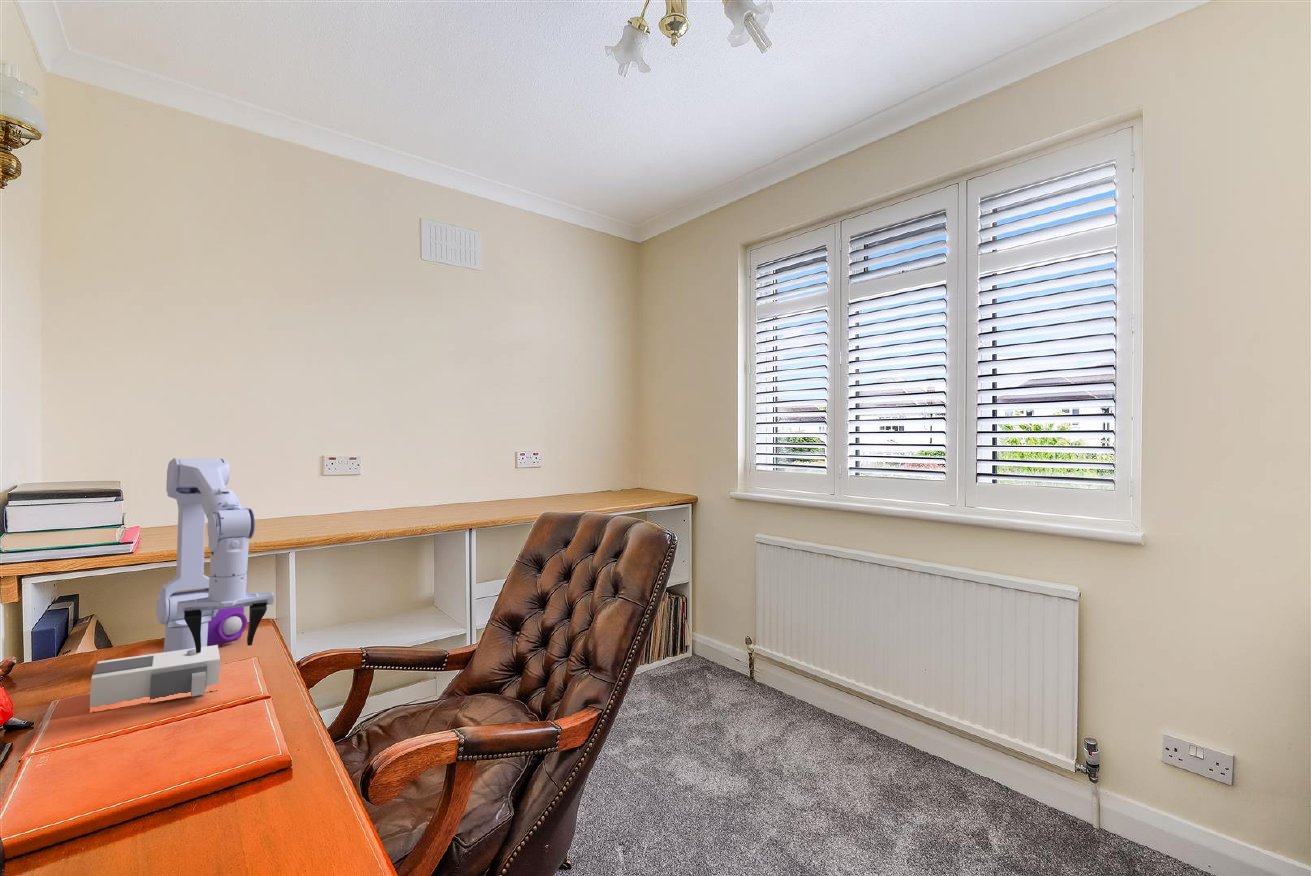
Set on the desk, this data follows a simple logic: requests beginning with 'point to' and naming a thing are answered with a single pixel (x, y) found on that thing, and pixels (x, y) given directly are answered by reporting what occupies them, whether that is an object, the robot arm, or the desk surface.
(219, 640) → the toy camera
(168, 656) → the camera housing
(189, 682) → the side door
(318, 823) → the desk surface
